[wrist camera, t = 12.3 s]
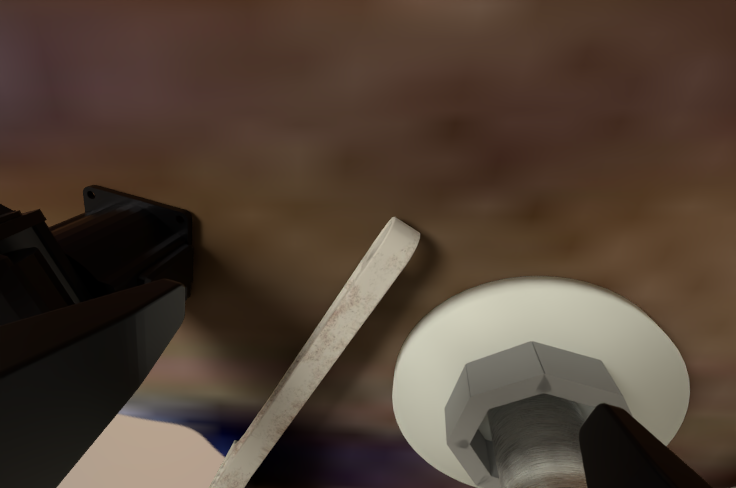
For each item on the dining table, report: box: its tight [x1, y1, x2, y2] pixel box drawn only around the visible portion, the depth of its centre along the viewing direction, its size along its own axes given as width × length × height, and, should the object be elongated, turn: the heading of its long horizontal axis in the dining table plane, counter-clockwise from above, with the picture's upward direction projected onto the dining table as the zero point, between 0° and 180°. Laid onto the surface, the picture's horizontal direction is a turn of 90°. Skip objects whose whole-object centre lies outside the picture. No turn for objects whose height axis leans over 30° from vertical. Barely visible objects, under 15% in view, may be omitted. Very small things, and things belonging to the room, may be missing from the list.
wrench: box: [209, 217, 420, 488], centre depth 24 cm, size 8×2×30 cm
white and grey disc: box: [392, 276, 690, 488], centre depth 22 cm, size 17×17×4 cm
